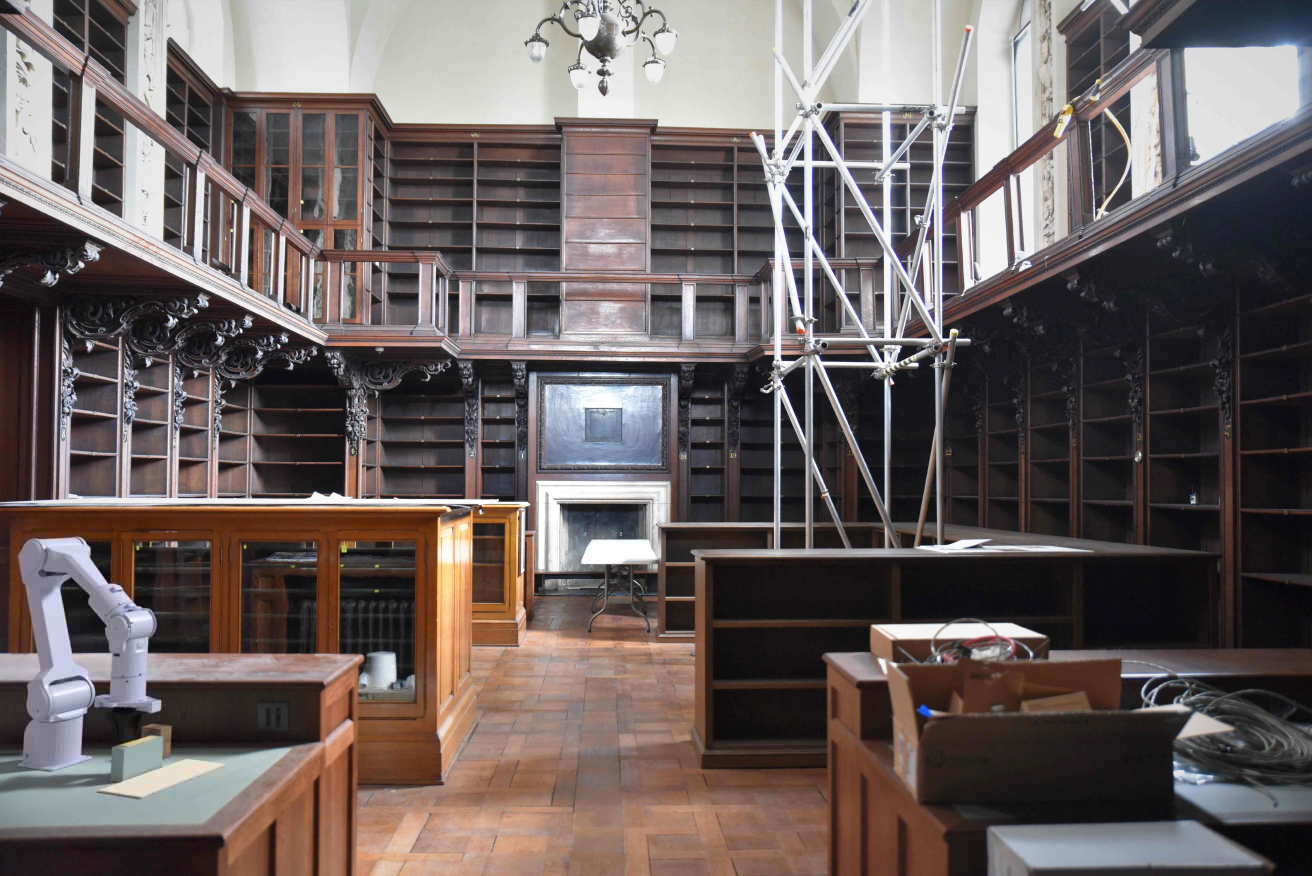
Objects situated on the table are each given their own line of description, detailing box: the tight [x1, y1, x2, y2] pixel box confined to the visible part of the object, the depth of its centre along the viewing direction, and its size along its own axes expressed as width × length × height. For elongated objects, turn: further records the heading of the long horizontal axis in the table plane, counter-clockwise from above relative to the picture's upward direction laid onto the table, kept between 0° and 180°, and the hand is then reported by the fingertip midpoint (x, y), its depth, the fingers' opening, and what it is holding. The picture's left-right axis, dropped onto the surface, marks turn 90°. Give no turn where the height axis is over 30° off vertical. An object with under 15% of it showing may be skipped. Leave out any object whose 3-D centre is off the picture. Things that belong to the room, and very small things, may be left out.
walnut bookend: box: [140, 723, 172, 760], centre depth 161 cm, size 5×2×6 cm, turn 72°
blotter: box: [97, 758, 227, 800], centre depth 149 cm, size 10×18×1 cm, turn 162°
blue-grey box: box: [110, 735, 163, 783], centre depth 151 cm, size 3×8×6 cm, turn 162°
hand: (125, 748), depth 152 cm, fingers closed
